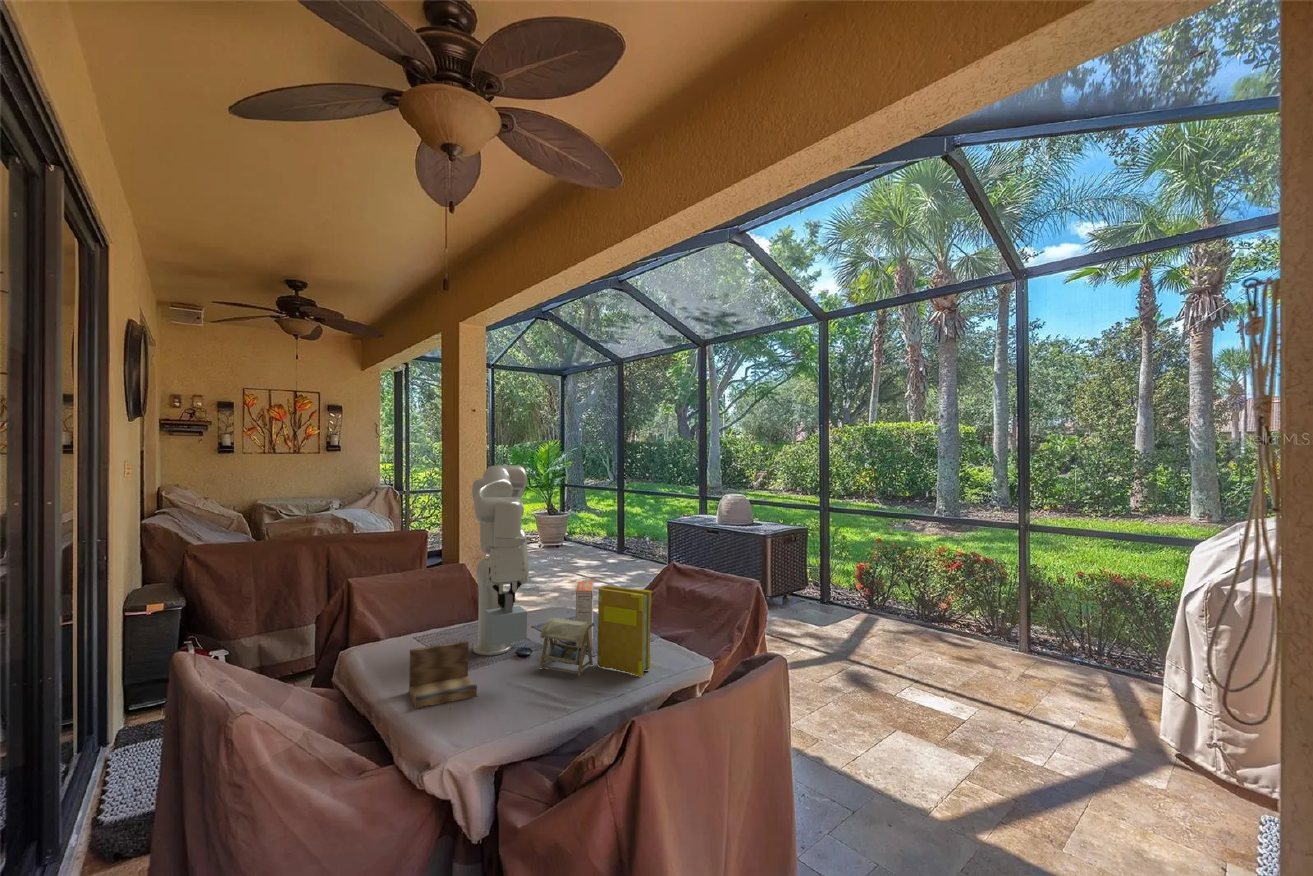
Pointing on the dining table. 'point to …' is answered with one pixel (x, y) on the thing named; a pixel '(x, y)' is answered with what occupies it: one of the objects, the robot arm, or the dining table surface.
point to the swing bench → (566, 653)
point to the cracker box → (585, 606)
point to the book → (624, 629)
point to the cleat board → (440, 674)
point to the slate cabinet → (506, 623)
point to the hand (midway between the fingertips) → (506, 605)
